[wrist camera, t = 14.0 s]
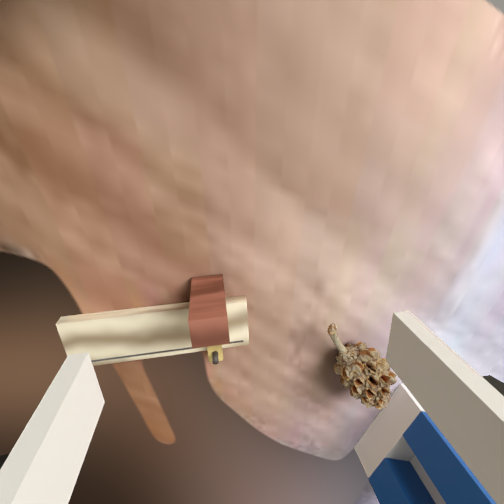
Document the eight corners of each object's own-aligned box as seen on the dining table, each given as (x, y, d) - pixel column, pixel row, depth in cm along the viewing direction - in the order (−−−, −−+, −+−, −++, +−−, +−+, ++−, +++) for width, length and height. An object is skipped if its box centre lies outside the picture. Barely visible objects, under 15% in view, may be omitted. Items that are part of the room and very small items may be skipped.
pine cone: (389, 360, 63) (420, 399, 54) (353, 386, 65) (377, 428, 56) (332, 296, 55) (358, 329, 46) (292, 328, 57) (309, 366, 47)
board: (61, 316, 49) (55, 324, 47) (245, 295, 52) (246, 301, 50) (76, 360, 52) (71, 369, 50) (247, 337, 56) (249, 345, 54)
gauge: (191, 277, 49) (187, 321, 38) (222, 274, 50) (227, 316, 39) (201, 347, 55) (200, 403, 44) (229, 344, 55) (235, 397, 44)
